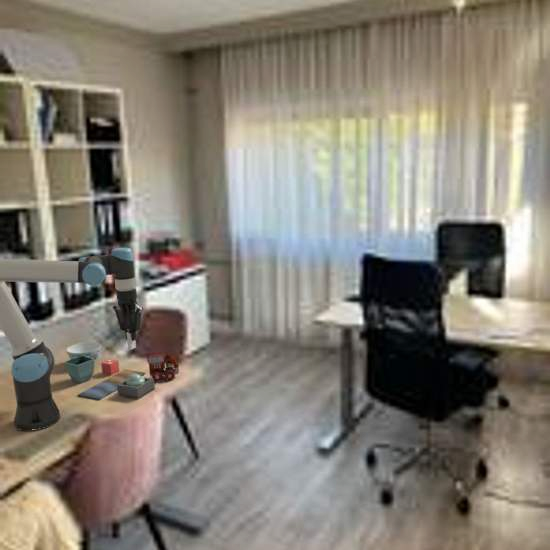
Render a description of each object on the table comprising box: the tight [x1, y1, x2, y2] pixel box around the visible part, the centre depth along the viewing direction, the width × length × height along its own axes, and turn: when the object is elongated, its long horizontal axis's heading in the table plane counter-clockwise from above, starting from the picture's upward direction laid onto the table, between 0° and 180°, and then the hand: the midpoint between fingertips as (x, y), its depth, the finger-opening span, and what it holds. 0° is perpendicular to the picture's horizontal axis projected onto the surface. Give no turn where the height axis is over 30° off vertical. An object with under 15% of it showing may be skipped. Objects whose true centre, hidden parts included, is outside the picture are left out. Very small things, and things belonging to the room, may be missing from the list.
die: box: [100, 358, 120, 376], centre depth 249 cm, size 5×5×5 cm
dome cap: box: [126, 374, 145, 387], centre depth 227 cm, size 7×7×5 cm
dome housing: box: [117, 376, 156, 400], centre depth 227 cm, size 10×10×4 cm
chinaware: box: [66, 341, 102, 362], centre depth 262 cm, size 15×15×8 cm
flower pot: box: [64, 356, 95, 384], centre depth 242 cm, size 9×9×9 cm
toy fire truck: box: [146, 353, 180, 383], centre depth 240 cm, size 7×12×10 cm, turn 100°
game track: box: [77, 369, 146, 401], centre depth 237 cm, size 28×11×1 cm, turn 154°
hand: (132, 348), depth 224 cm, fingers closed
